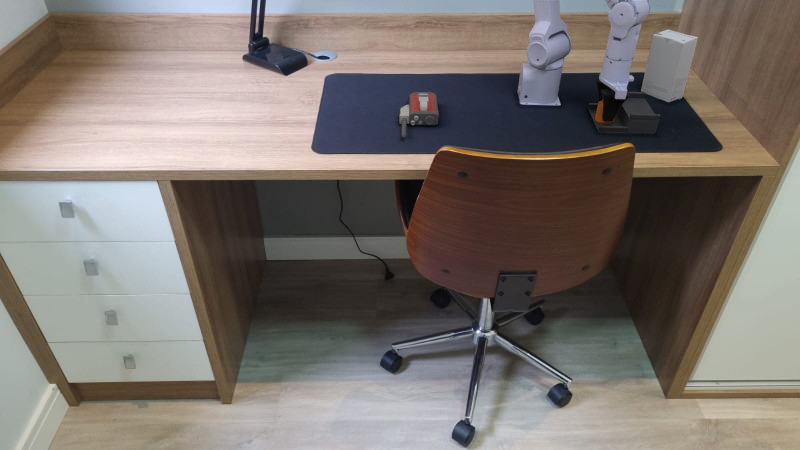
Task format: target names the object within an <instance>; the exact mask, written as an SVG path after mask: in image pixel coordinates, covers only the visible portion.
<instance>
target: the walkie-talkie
mask: <svg viewBox="0 0 800 450" xmlns="http://www.w3.org/2000/svg"><path fill="white" fill-rule="evenodd" d="M439 113H440V110H439V107H438V95H437V94H436V93H435V92H434V91H433V92H432V91H414V92H412V93H410V94H409V95H408V96H407V104H406V105H403V106H402V107H400V111H399V115H398V116H399V117H398V118H399V119H398V121H399V124H401V138H403V139H405V138H407V124H408V125H410V126H437V125H438V124H439V120H440V114H439Z"/></svg>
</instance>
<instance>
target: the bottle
mask: <svg viewBox="0 0 800 450" xmlns="http://www.w3.org/2000/svg"><path fill="white" fill-rule="evenodd" d="M597 103H598V107H597V111H596V116H595V120H596V121H598V122H600V123H604V124H609V123H613V122H614V120H613V121H603V119H602V112H603V100H601V101H599V102H598V101H597ZM614 119H615V118H614Z"/></svg>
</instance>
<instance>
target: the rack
mask: <svg viewBox="0 0 800 450" xmlns="http://www.w3.org/2000/svg"><path fill="white" fill-rule="evenodd" d="M627 92H628V93H629V98H628V99H627V100H626V101H625V102H624V103H623V104H622V106H621V107H620V109H619V110H618V112H617V114H616V116H615V119H614V122H613V123H609V124H604V123H600V122H598V121H596V120H595V116H596V111H597V107H598V102H589V103H588V106H587V109H588V111H589V114H590V116H591V118H592V120H593V122H594V125H595V127H596V130H597V132H598V133H617V134H618V133H619V134H651V135H654V134H657V133H656V132H657V129H658V126H659V123H660V120H661V114H660V113H655V112H654V110H653V109H652V107H651V105H650V104H649V103H648V101H647V99H646V95H647V94H646V93H645V92H641V91H627Z"/></svg>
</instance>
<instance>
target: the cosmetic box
mask: <svg viewBox="0 0 800 450" xmlns="http://www.w3.org/2000/svg"><path fill="white" fill-rule="evenodd" d="M698 41H699V36H695V35H691V34H686V33H682V32H679V31H676V30H671V29H665V30H663V31H660V32H656V33H654V34H652V38H651V43H650V47H649V53H648V57H647V61H646V66H645V70H644V75H643V80H642V85H641V89H640V92H645V93H646V95H649V96H651V97H653V98H656V99H658V100H661V101H664V102H667V103H671V102H673V101H676V100H681V99H682V98H684V93H685V91H686V85H687V82H688V79H689V75H690V71H691V67H692V63H693V60H694V55H695V51H696V49H697V44H698Z"/></svg>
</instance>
